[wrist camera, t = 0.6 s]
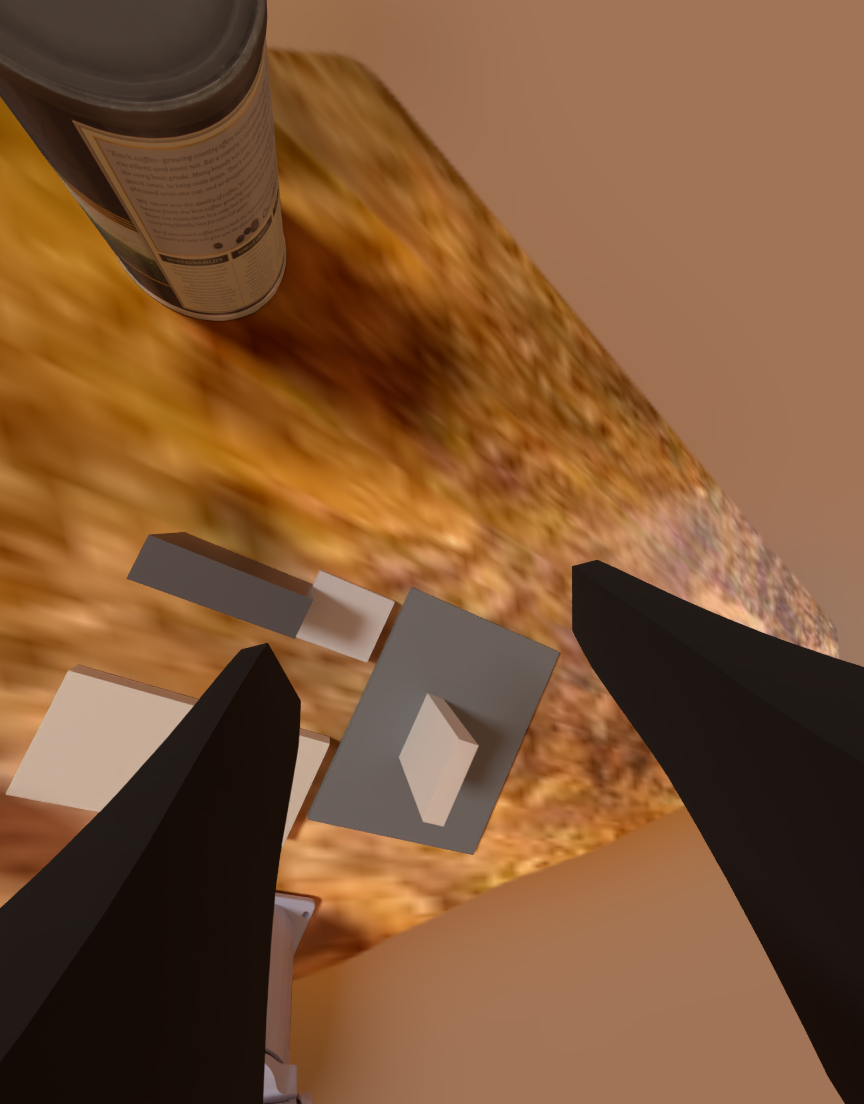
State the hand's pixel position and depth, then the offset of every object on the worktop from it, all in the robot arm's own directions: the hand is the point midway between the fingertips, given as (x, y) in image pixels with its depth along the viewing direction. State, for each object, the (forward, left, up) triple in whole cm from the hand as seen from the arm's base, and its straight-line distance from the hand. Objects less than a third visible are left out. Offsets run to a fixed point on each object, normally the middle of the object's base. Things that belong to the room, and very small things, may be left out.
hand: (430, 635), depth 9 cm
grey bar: (-4, +3, -21) cm, 22 cm away
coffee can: (+15, +17, -21) cm, 31 cm away
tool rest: (-17, +4, -21) cm, 27 cm away
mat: (-10, -13, -21) cm, 26 cm away
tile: (-10, -11, -20) cm, 25 cm away
